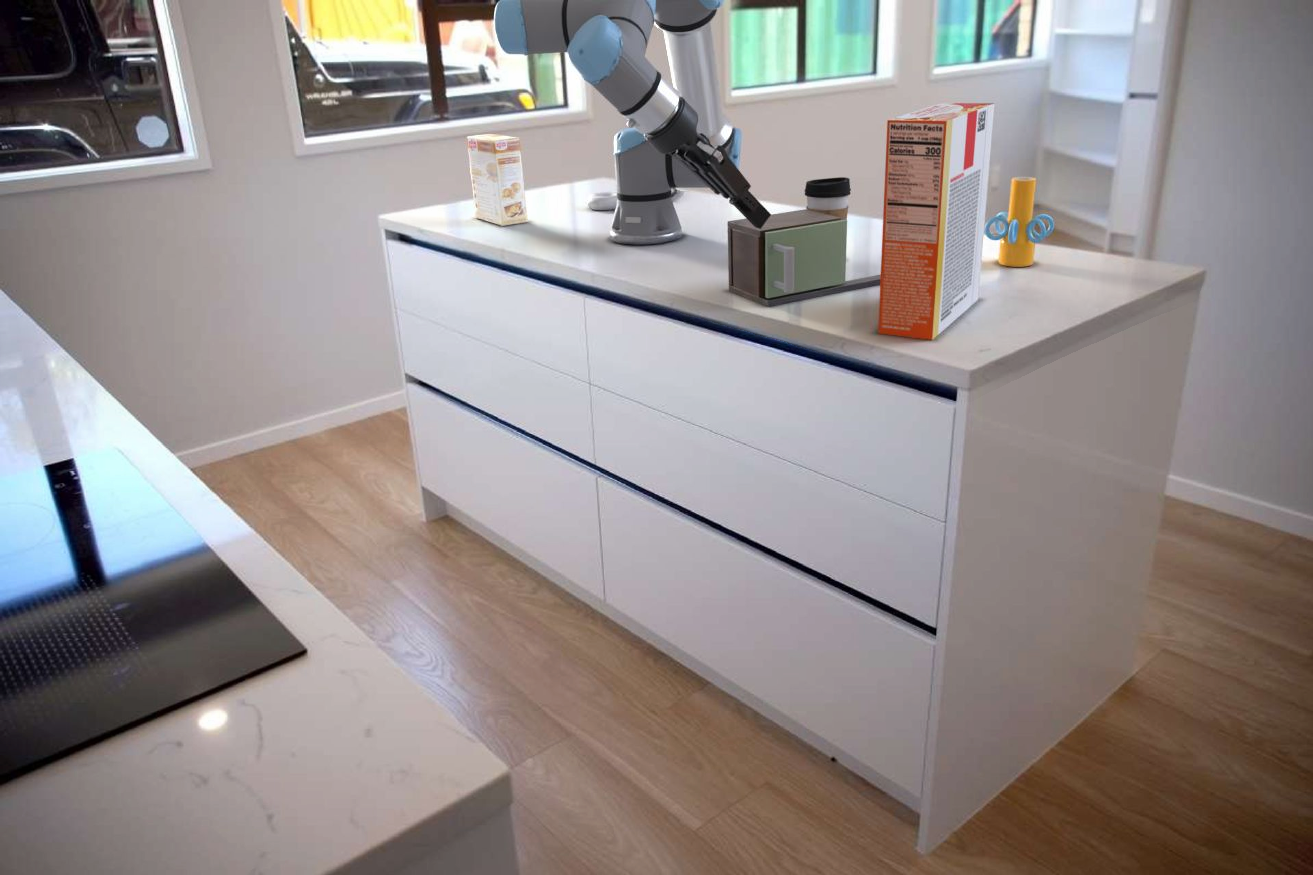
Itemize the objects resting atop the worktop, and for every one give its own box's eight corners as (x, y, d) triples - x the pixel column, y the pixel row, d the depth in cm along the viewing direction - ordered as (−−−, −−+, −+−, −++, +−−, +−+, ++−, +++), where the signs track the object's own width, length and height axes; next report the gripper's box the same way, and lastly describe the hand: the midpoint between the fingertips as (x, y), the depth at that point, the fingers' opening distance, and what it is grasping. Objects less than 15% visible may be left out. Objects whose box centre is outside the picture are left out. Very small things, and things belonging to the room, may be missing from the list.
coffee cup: (848, 265, 184) (850, 182, 178) (802, 265, 186) (803, 183, 180) (849, 254, 192) (851, 175, 186) (805, 255, 193) (806, 176, 187)
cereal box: (928, 294, 164) (940, 103, 152) (978, 299, 160) (994, 103, 148) (878, 333, 146) (887, 120, 134) (932, 340, 142) (946, 121, 130)
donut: (585, 213, 245) (626, 210, 245) (584, 198, 244) (625, 196, 243) (588, 205, 254) (627, 203, 254) (587, 191, 253) (626, 189, 252)
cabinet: (728, 291, 171) (727, 221, 167) (854, 267, 183) (856, 201, 178) (767, 306, 161) (767, 233, 157) (898, 280, 173) (902, 211, 168)
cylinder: (1037, 274, 172) (1047, 186, 166) (977, 268, 178) (984, 183, 172) (1053, 258, 182) (1063, 174, 176) (995, 253, 187) (1002, 172, 181)
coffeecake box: (528, 222, 237) (520, 137, 229) (501, 226, 233) (492, 140, 225) (501, 214, 248) (492, 132, 240) (474, 218, 245) (465, 136, 237)
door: (765, 297, 162) (765, 232, 158) (842, 282, 168) (844, 219, 164) (784, 305, 157) (785, 238, 153) (863, 289, 164) (866, 224, 160)
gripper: (624, 133, 143) (726, 234, 156) (667, 141, 132) (772, 248, 145) (655, 91, 143) (754, 195, 156) (701, 96, 132) (803, 207, 145)
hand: (763, 221), depth 151 cm, fingers closed
